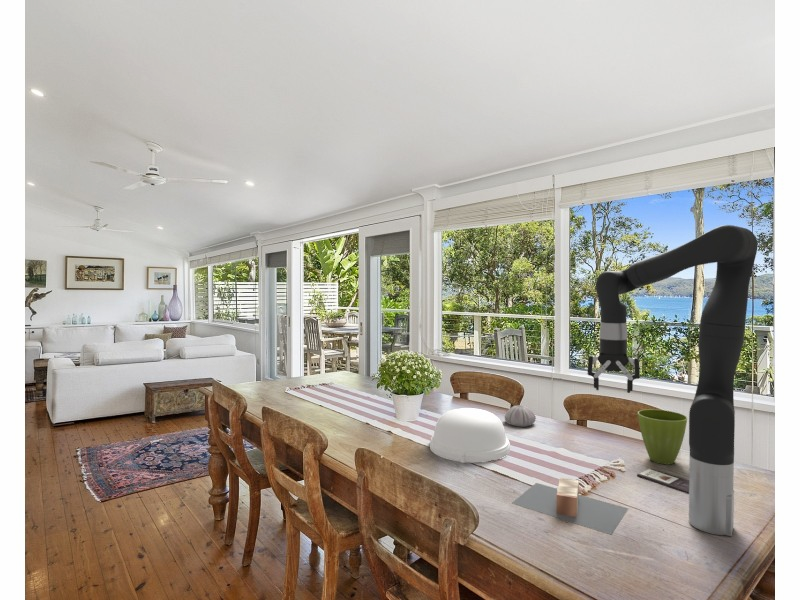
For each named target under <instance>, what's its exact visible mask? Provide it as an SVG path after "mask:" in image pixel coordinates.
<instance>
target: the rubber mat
mask: <svg viewBox="0 0 800 600" xmlns="http://www.w3.org/2000/svg"><path fill="white" fill-rule="evenodd" d="M557 489H558V487H557V488H556V487H553V486H549V485H546V484H542V483H538V482H535V483H534V484H533V485H532V486H530V487H529V488H528V489H527V490H525V491H524V492H523V493H522V494H521V495H519V496H518V497H517V498H516V499H515V500H514V501H512V502H511V504H512V505H516V506H519V507H522V508H525V509H527V510H531V511H535V512H537V513H541V514H544V515H547V516H551V517H553V518H557V519H559V520H562V521H566V522H570V523H573V524H576V525H579V526H582V527H585V528H588V529H592V530H595V531H598V532H601V533H603V534H606V535H610V536H612V535H613V533H614V531H615V530H616V529H617V527H618V526H619V524H620V522H622V520H623V518H624V517H625V514H626V513H627V512H628V510H629V509H630V508H628V507H625V506H622V505H619V504H618V505H617V504H614V503H610V502H606V501H603V500H601V499H596V498H593V497H589V496H585V495H581V494H579V499H578V509H577V517H573V516H568V515H562V514H557V513H556V512H557Z"/></svg>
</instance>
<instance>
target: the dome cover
mask: <svg viewBox="0 0 800 600" xmlns="http://www.w3.org/2000/svg"><path fill="white" fill-rule="evenodd" d="M506 435H507V434H506V430H505V427H504V424H503V422H502V421H501V419H500V418H499V417H498V416H496V414H494V413H492V412H490V411H488V410H485V409H481V408H473V407H461V408H455V409H450V410H448V411H446V412H444V413H443V414H442V415H441V416H440V417H439V418H438V419H437V422H436V424H435V427H434V432H433V434H432V435H431V438H430V441H429V449H430V451H431V452H432V453H433V454H435V455H436V456H438V457H441V458H442V459H445V460H451V461H454V462H458V463H459V462H460V464H465V463H469V464H470V463H471V464H472V463H473V464H475V463H474V462H482V461H491V460H496V459H500V458H502V457H504V456H506V455H508V454H509V455H510V453H511V444H510V440H509V439H508V437H507V436H506ZM509 452H510V453H509ZM509 455H508V456H509ZM506 457H507V456H506ZM502 459H503V458H502ZM500 460H501V459H500ZM496 461H497V460H496ZM491 462H492V461H491ZM482 463H483V462H482Z"/></svg>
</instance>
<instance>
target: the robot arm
mask: <svg viewBox="0 0 800 600" xmlns="http://www.w3.org/2000/svg"><path fill="white" fill-rule="evenodd" d="M758 247H759V245H758V239H757V237H756V234H754V232H753V231H751V230H750V229H749V228H745V227H742V226H737V225H731V224H723V225H718V226H717V227H714V228H713V229H711V230H708V231H706V232H704V233H703V234H701V235H699V236H698V237H696V238H694V239H692V240H690V241H688V242H685V243H684V244H682V245H680V246H678V247H677V246H676V247H675V248H673V249H670V250H668V251H665V252H662V253H659V254H656V255H654V256H651V257H647V258H644V259H643V260H642V259H641V260H639V261H636V262H635V263H632V264H631V265H629V266H628V268H626V269H622V270H608V271H607V270H606V271H603V272H601V273H600V274H599V275H598V277H597V278H596V281H595V282H596V283H595V289H596V295H597V299H598V305H599V306H600V327H599V354H598V356H595V355H592V354H589V356H588V362H587V373H586V374H587V375H588V376H589V377H593V388H594V389H595V391H599V390H600V389H599V384H600V383H599V382H600V380H599V379H600V375H601V374H602V373H603V372H604V371H607V372H616V373H618V372H622V373H623V375H625V377H626V378H627V379H626V393H628V394H630V393H631V392H632V391H633V389H634V387H633V385H634V383H633V382H634V380H639V379H640V378H641V373H640V359H639V358H638V357H636V356H635V357H634V358H632V357H628V327H627V306H626V305H625V304H624V303H622V302H621V301H620V300H621V299H620V295H624V294H628V293H629V292H630V293H631V292H632V291H635V290H637V289H640V287H645V286H648V285H652V284H655V283H658V282H662V281H664V280H667V279H669V278H671V277H673V276H674V275H676V274H679V273H680V272H682V271H684V270H688V269H691V268H693V267H694V268H695V267H696V266H701V265H708V264H714V263H716V275H715V282H714V286H713V288H712V291H711V293H710V294H709V297H708V299H707V301H706V303H705V305H704V307H703V309H702V312H701V316H700V321H699V331H698V359H699V377H698V380H697V381H698V382H697V385H696V386H697V387H696V390H695V393H694V397H693V400H692V403H691V405H690V408H689V412H688V413H689V414H688V445H689V447H688V448H689V464H688V465H689V467H688V468H689V469H688V471H689V474H688V475H689V477H688V480H689V494H688V522H689V524H690V525H691V526H693V527H694V528H695V529H698V530H700V531H702V532H705V533H708V534H711V535H717V536H727V537H732V536H733V530H734V525H735V524H734V521H735V520H734V519H735V514H734V512H735V490H734V470H735V427H736V425H735V423H736V420H735V419H736V417H735V415H736V413H735V412H736V411H735V404H734V388H735V387H734V384H735V375H736V371H737V367H738V365H739V361H740V357H741V355H742V349H743V345H744V339H745V331H746V323H747V322H746V321H747V310H748V301H749V286H750V281H751V277H752V272H753V268H754V266H755V265H754V263H755V260H756V257H757V251H758ZM597 361H598V362H599V364H600V366H599V368H598V369H596V371H593V364H596V362H597ZM629 362H630V364H631V365H632V366H633V368H634V373H633V374H631V373H630V371H629V370H628V369H627V367H626V366H627V365H628V364H629Z"/></svg>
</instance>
